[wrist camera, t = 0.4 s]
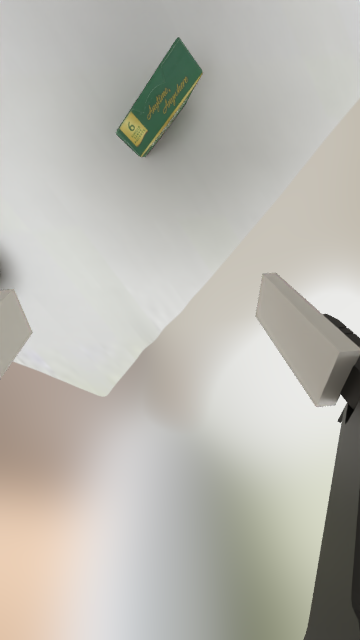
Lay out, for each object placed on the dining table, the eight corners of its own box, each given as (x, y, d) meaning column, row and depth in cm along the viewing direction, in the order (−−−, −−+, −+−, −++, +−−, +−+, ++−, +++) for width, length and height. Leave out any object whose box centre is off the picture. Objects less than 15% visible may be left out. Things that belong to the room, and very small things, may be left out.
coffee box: (144, 161, 32) (140, 159, 21) (126, 142, 31) (112, 130, 20) (187, 104, 30) (208, 69, 19) (169, 81, 29) (181, 29, 18)
